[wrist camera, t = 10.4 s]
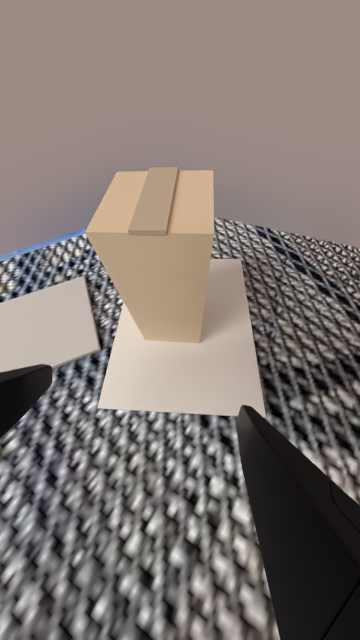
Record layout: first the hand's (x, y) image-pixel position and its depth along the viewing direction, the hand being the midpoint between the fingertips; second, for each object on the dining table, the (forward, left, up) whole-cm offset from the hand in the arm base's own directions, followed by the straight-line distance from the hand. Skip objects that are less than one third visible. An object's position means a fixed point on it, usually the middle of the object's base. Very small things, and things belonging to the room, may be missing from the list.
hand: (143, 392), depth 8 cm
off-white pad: (+8, -1, -9) cm, 12 cm away
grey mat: (+7, +15, -9) cm, 19 cm away
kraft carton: (+9, 0, -8) cm, 12 cm away
